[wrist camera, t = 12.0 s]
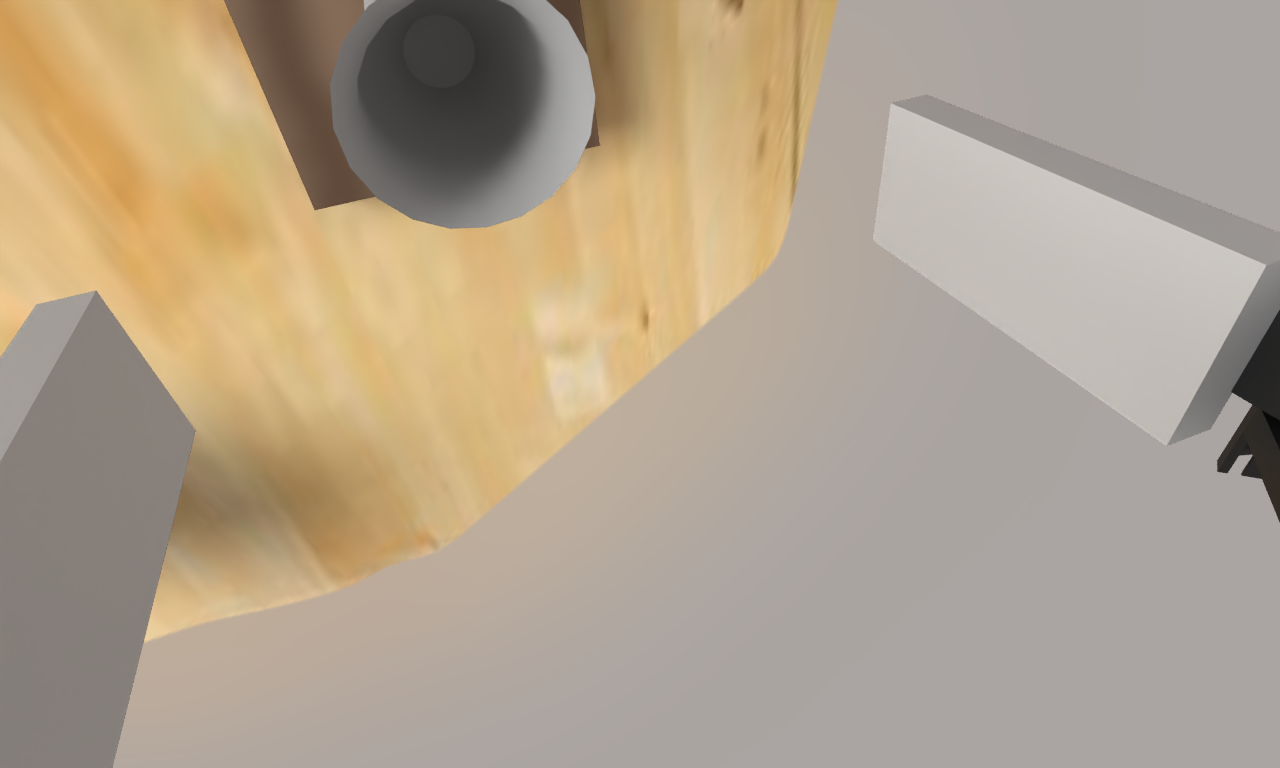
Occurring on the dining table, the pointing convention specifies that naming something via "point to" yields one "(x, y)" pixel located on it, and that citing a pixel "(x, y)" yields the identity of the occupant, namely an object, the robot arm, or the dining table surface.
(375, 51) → the chalice
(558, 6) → the plinth
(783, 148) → the dining table surface
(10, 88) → the dining table surface
